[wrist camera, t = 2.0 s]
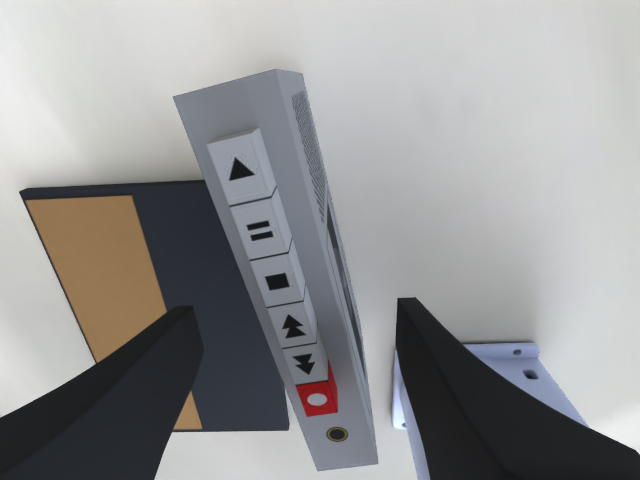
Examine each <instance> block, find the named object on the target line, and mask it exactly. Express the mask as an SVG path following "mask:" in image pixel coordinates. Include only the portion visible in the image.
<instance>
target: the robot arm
mask: <svg viewBox="0 0 640 480" xmlns="http://www.w3.org/2000/svg"><path fill="white" fill-rule="evenodd" d="M204 350H205V349H204V346H203V342H202V338H201V334H200V330H199V327H198V323H197V319H196V315H195V312H194V308H193V305H186V306H175V307H174V308H172V309H171V310H169V311H168V312H166V313H165V314H164V315H162V316H161V317H160V318H158V319H157V320H156V321H154V322H153V323H152V324H150V325H149V326H148V327H147V328H145V329H144V330H143V331H141V332H140V333H139V334H137V335H136V336H135V337H133V338H132V339H131V340H129V341H128V342H127V343H125V344H124V345H122V346H121V347H120V348H118V349H117V350H115V351H114V352H112V353H111V354H110V355H108V356H107V357H105V358H104V359H103V360H101V361H100V362H98V363H97V364H95V365H94V366H92V367H91V368H89V369H88V370H86V371H84V372H83V373H81V374H80V375H78V376H76V377H75V378H73V379H71V380H70V381H68V382H66V383H65V384H63V385H61V386H60V387H58V388H56V389H55V390H53V391H51V392H49V393H47V394H45V395H43V396H41V397H40V398H38V399H36V400H34V401H32V402H30V403H28V404H27V405H25V406H23V407H21V408H19V409H17V410H15V411H13V412H11V413H9V414H7V415H5V416H3V417H1V418H0V480H154V479H155V476H156V473H157V470H158V467H159V464H160V461H161V458H162V455H163V452H164V450H165V447H166V445H167V442H168V440H169V438H170V435H171V433H172V431H173V429H174V426H175V424H176V422H177V420H178V418H179V415H180V413H181V411H182V409H183V406H184V404H185V402H186V400H187V398H188V395H189V393H190V391H191V389H192V386H193V384H194V382H195V379H196V377H197V374H198V371H199V368H200V364H201V361H202V357H203V354H204ZM515 350H516V351H515ZM539 353H540V349H539V347H538V346H537V345H536V344H535V343H500V344H461V343H460V342H459V341H458V340H457V339H456V338H455V337H454V336H453V335H452V334H451V333H450V332H449V331H448V330H447V329H446V328H444V327H443V326H442V325H441V323H440V322H439V321H438V320H437V319H436V318H435V317H434V316H433V315H432V314H431V313H430V312H429V311H428V310H427V309H426V308H425V307H424V306H423V304H422V303H421V302H420V301H419V300H418V299H417V298H416V297H413V298H398V301H397V322H396V350H395V362H394V381H393V401H392V426H393V427H394V428H396V429H407V432H408V437H409V441H410V446H411V451H412V455H413V460H414V464H415V469H416V473H417V478H418V480H640V455H639V454H638V452H637V451H636V450H634V449H632V448H630V447H628V446H626V445H624V444H621V443H619V442H617V441H615V440H613V439H611V438H609V437H607V436H605V435H603V434H601V433H599V432H597V431H595V430H592V429H590V428H589V426H588V425H587V424H586V422H585V421H584V420H583V418H582V417H581V416H580V414H579V413H578V412H577V410H576V409H575V408H574V406H573V405H572V404H571V402H570V401H569V400H568V398H567V397H566V396H565V394H564V393H563V392H562V390H561V389H560V388H559V386H558V385H557V384H556V382H555V381H554V380H553V378H552V377H551V375H550V374H549V373H548V371H547V370H546V369H545V367H544V366H543V365H542V363H541V362H540V361H539V359H538V356H539Z"/></svg>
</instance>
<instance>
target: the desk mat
mask: <svg viewBox="0 0 640 480" xmlns="http://www.w3.org/2000/svg"><path fill="white" fill-rule="evenodd" d="M19 193H20V195H21V197H22V200H23V202H24V204H25V206H26V209H27V211H28V213H29V215H30V218H31V220H32V222H33V224H34V226H35V229H36V231H37V233H38V235H39V238H40V240H41V242H42V244H43V247H44V249H45V251H46V253H47V255H48V258H49V260H50V262H51V264H52V267H53V269H54V271H55V273H56V276H57V278H58V280H59V282H60V285H61V287H62V289H63V291H64V293H65V296H66V298H67V300H68V302H69V305H70V307H71V309H72V311H73V314H74V316H75V318H76V320H77V323H78V325H79V327H80V329H81V331H82V334H83V336H84V338H85V340H86V343H87V345H88V347H89V349H90V352H91V354H92V356H93V358H94V361H95V363H96V364H97V363H98V362H100V361H101V360H103V359H104V358H105V357H107V356H108V355H110V354H111V353H112V352H114V351H115V350H117V349H118V348H120V347H121V346H122V345H124V344H125V343H127V342H128V341H129V340H131V339H132V338H133V337H135V336H136V335H137V334H139V333H140V332H141V331H143V330H144V329H145V328H147V327H148V326H149V325H150V324H152V323H153V322H154V321H156V320H157V319H158V318H160V317H161V316H162V315H164V314H165V313H166V312H168V311H169V310H171V309H172V308H174V307H175V306H186V305H193V308H194V312H195V315H196V319H197V323H198V327H199V330H200V334H201V338H202V342H203V346H204V349H205V350H204V354H203V357H202V361H201V364H200V368H199V371H198V374H197V377H196V379H195V382H194V384H193V386H192V389H191V391H190V393H189V395H188V398H187V400H186V402H185V404H184V406H183V409H182V411H181V413H180V415H179V418H178V420H177V422H176V424H175V426H174V429H173V431H172V432H220V431H288V430H289V418H288V411H287V404H286V397H285V389H284V383H283V381H282V378H281V376H280V373H279V370H278V368H277V365H276V363H275V360H274V357H273V355H272V352H271V350H270V347H269V345H268V342H267V339H266V337H265V334H264V332H263V329H262V326H261V324H260V321H259V319H258V316H257V314H256V311H255V308H254V306H253V303H252V301H251V298H250V295H249V293H248V290H247V288H246V285H245V283H244V280H243V277H242V275H241V272H240V270H239V267H238V264H237V262H236V259H235V257H234V254H233V251H232V249H231V246H230V244H229V241H228V239H227V236H226V233H225V231H224V228H223V226H222V223H221V220H220V218H219V215H218V213H217V210H216V208H215V205H214V202H213V200H212V197H211V195H210V192H209V189H208V187H207V184H206V182H205V180H195V181H174V182H153V183H132V184H111V185H91V186H70V187H49V188H28V189H25V190H22V191H20V192H19Z"/></svg>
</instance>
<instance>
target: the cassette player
mask: <svg viewBox="0 0 640 480" xmlns="http://www.w3.org/2000/svg"><path fill="white" fill-rule="evenodd" d="M173 99H174V102H175V104H176V107H177V109H178V112H179V115H180V117H181V120H182V122H183V125H184V127H185V130H186V133H187V135H188V138H189V140H190V143H191V146H192V148H193V151H194V153H195V156H196V158H197V161H198V164H199V166H200V169H201V171H202V174H203V177H204V179H205V182H206V184H207V187H208V189H209V192H210V195H211V197H212V200H213V202H214V205H215V208H216V210H217V213H218V215H219V218H220V220H221V223H222V226H223V228H224V231H225V233H226V236H227V239H228V241H229V244H230V246H231V249H232V251H233V254H234V257H235V259H236V262H237V264H238V267H239V270H240V272H241V275H242V277H243V280H244V283H245V285H246V288H247V290H248V293H249V295H250V298H251V301H252V303H253V306H254V308H255V311H256V314H257V316H258V319H259V321H260V324H261V326H262V329H263V332H264V334H265V337H266V339H267V342H268V345H269V347H270V350H271V352H272V355H273V357H274V360H275V363H276V365H277V368H278V370H279V373H280V376H281V378H282V381H283V383H284V386H285V388H286V391H287V394H288V396H289V399H290V401H291V404H292V407H293V409H294V412H295V414H296V417H297V419H298V422H299V425H300V427H301V430H302V432H303V435H304V438H305V440H306V443H307V445H308V448H309V450H310V453H311V456H312V458H313V461H314V463H315V466H316V469H317V471H324V470H332V469H341V468H349V467H357V466H366V465H374V464H378V456H377V448H376V441H375V433H374V425H373V417H372V409H371V401H370V393H369V385H368V377H367V370H366V362H365V354H364V346H363V338H362V330H361V324H360V320H359V316H358V311H357V307H356V303H355V298H354V294H353V290H352V286H351V281H350V277H349V273H348V268H347V264H346V260H345V255H344V251H343V247H342V243H341V238H340V234H339V230H338V225H337V221H336V217H335V212H334V208H333V204H332V200H331V195H330V191H329V187H328V182H327V178H326V174H325V169H324V165H323V161H322V156H321V152H320V148H319V144H318V139H317V135H316V131H315V126H314V122H313V118H312V113H311V109H310V105H309V101H308V96H307V92H306V88H305V83H304V79H303V75H302V74H301V73H296V72H290V71H284V70H278V69H274V70H270V71H266V72H262V73H259V74H255V75H251V76H248V77H244V78H240V79H236V80H233V81H229V82H225V83H222V84H218V85H214V86H211V87H207V88H203V89H199V90H196V91H192V92H188V93H185V94H181V95H177V96H173Z"/></svg>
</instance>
